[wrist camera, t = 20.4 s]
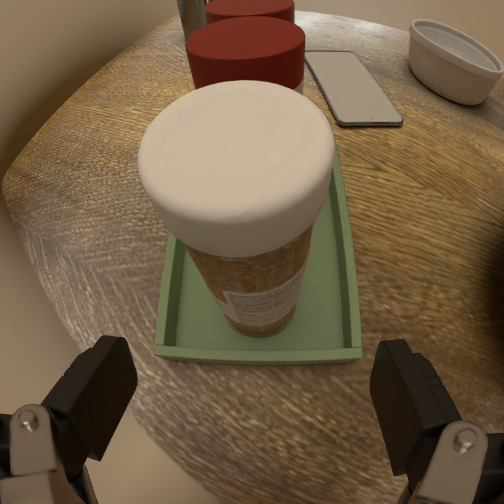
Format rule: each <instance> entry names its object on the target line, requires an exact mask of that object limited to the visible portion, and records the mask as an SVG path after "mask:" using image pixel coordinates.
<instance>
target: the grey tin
mask: <svg viewBox="0 0 504 504" xmlns="http://www.w3.org/2000/svg"><path fill="white" fill-rule="evenodd" d="M206 4H207V2H206V0H177V5H178V9H179V14H180V18H181V22H182V27H183V31H184V36H185V40H187V38H188V37H189V36H190V35H191V34H192V33H193V32H195V31H196V30H198V29H200V28H202V27H204V26H206V19H205V13H204V7H205V5H206Z"/></svg>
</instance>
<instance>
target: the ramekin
mask: <svg viewBox="0 0 504 504" xmlns="http://www.w3.org/2000/svg"><path fill="white" fill-rule="evenodd" d="M409 31H410V34H411V35H410V46H409V65H410V67H411V69H412V71H413V73H414V75H415V76H416V77H417V78H418V79H419V80H420V81H421V82H422V83H423V84H424V85H425V86H427V87H428V88H429V89H431V90H432V91H434V92H436V93H437V94H439V95H441V96H443V97H445V98H447V99H449V100H451V101H454V102H456V103H459V104H463V105H475V104H479V103H481V102H483V101H484V100H485V98H486V97H487V96H488V94H489V93H490V91H491V90H492V88H493V87H494V85H495V83H496V82H497V80H499V79H500V78H501V77H502V74H503V71H504V68H503V65H502V63H501V62H500V61H499V59H498V58H497V57H496V56H495V55H494V54H493V53H492V52H491V51H490V50H489V49H487V48H486V47H485V46H484V45H482V44H481V43H479V42H478V41H476V40H475V39H473V38H472V37H470V36H468V35H466V34H465V33H463V32H461V31H459V30H457V29H454V28H452V27H450V26H447V25H445V24H442V23H438V22H435V21H431V20H424V19H416V20H413V21H412V22H411V25H410V29H409Z"/></svg>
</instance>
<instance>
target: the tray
mask: <svg viewBox="0 0 504 504" xmlns="http://www.w3.org/2000/svg"><path fill="white" fill-rule="evenodd" d="M326 119H327V120H328V122H329V124H330V127H331V129H332V125H331V121H330V117H326ZM332 132H333V129H332ZM333 136H334V134H333ZM334 142H335V138H334ZM154 344H155V345H154V353H153V354H154V355H155V356H158V357H161V358H164V359H167V360H173V361H185V362H199V363H216V364H241V365H308V364H333V363H350V362H353V361H355V360H358V359H361V358H362V357H363V352H362V333H361V318H360V305H359V293H358V283H357V273H356V264H355V256H354V248H353V240H352V233H351V226H350V219H349V213H348V206H347V200H346V195H345V189H344V183H343V178H342V172H341V167H340V162H339V157H338V152H337V148H336V143H335V151H334V160H333V166H332V173H331V179H330V183H329V187H328V191H327V196H326V200H325V202H324V205H323V207H322V210H321V211H320V213H319V214H318V216H317V217H316V219H315V221H314V225H313V228H312V235H311V247H310V252H309V256H308V261H307V265H306V269H305V273H304V277H303V281H302V285H301V288H300V292H299V295H298V298H297V305H296V310H295V313H294V316H293V318H292V319H291V321H290V322H289V324H288V325H287V326H286V327H285V328H284V329H283V330H281V331H280V332H279V333H276V334H274V335H272V336H267V337H262V338H256V337H251V336H247V335H244V334H242V333H240V332H238V331H236V330H235V329H234V328H233V327H232V326H231V325H230V324H229V323H228V322H227V320H226V318H225V316H224V314H223V312H222V310H221V309H220V308H219V306H218V305H217V303H216V302H215V300H214V298H213V297H212V295H211V293H210V292H209V290H208V288H207V287H206V284H205V282H204V279H203V278H202V276H201V274H200V272H199V270H198V269H197V267H196V265H195V263H194V262H193V260H192V258H191V257H190V255H189V253H188V251H187V249H186V247H185V246H184V244H183V242H182V241H180V240H179V239H178V238H176V237H175V236H174V235H173V234H172V233H171V232H170V231H169V234H168V240H167V246H166V253H165V259H164V266H163V273H162V280H161V288H160V295H159V303H158V312H157V321H156V330H155V341H154Z"/></svg>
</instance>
